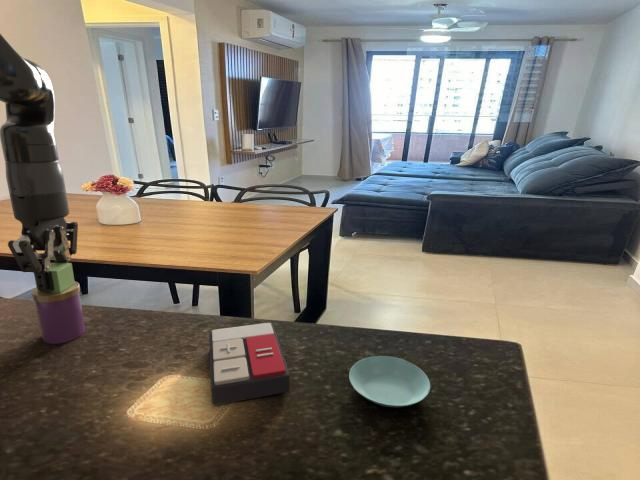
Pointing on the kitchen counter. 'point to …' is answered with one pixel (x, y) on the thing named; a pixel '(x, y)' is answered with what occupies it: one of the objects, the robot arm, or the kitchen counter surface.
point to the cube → (61, 276)
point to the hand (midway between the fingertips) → (55, 285)
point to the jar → (60, 314)
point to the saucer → (389, 381)
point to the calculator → (246, 363)
